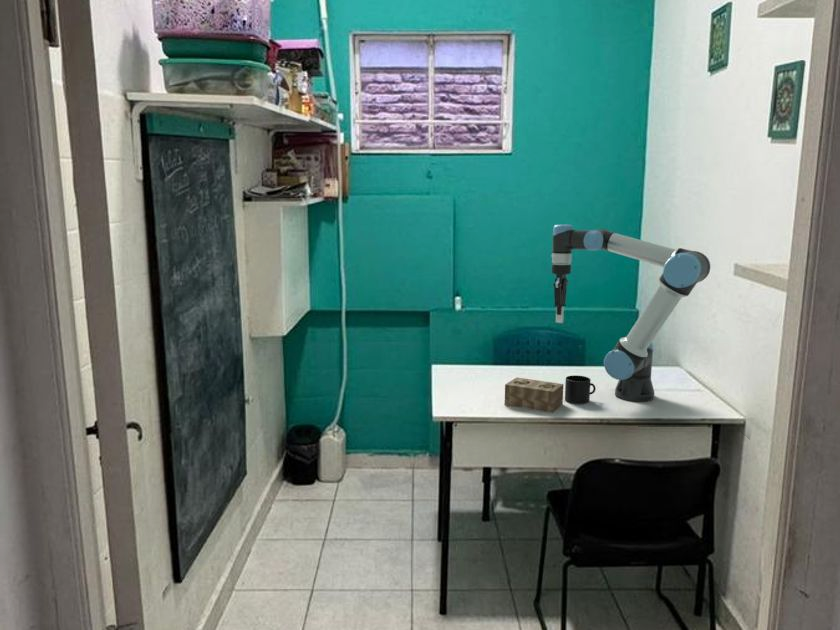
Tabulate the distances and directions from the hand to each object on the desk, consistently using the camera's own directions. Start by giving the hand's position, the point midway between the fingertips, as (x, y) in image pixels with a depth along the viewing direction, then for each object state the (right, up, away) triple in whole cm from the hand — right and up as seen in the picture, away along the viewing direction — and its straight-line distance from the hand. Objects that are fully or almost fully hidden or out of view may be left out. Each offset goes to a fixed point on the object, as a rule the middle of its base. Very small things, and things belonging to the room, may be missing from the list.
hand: (559, 322), depth 279 cm
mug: (+7, -31, -8) cm, 32 cm away
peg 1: (-17, -30, -11) cm, 36 cm away
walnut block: (-12, -31, -13) cm, 36 cm away
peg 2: (-8, -31, -16) cm, 36 cm away
